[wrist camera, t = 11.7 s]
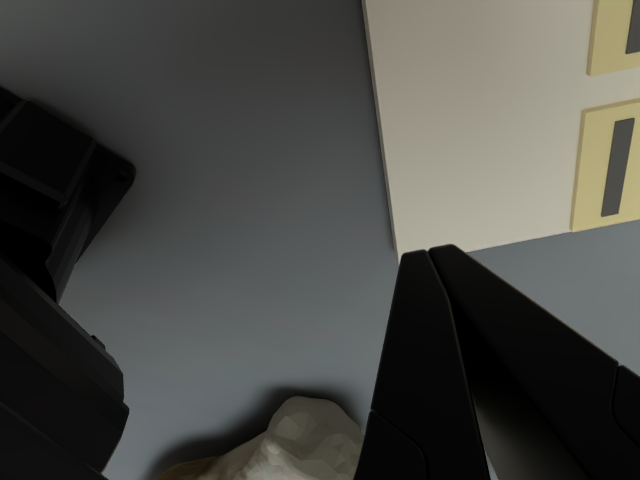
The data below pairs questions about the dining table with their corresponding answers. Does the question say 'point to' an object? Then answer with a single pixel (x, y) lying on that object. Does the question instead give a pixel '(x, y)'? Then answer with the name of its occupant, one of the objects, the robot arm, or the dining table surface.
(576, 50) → the label board
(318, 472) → the ceramic sculpture
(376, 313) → the dining table surface
